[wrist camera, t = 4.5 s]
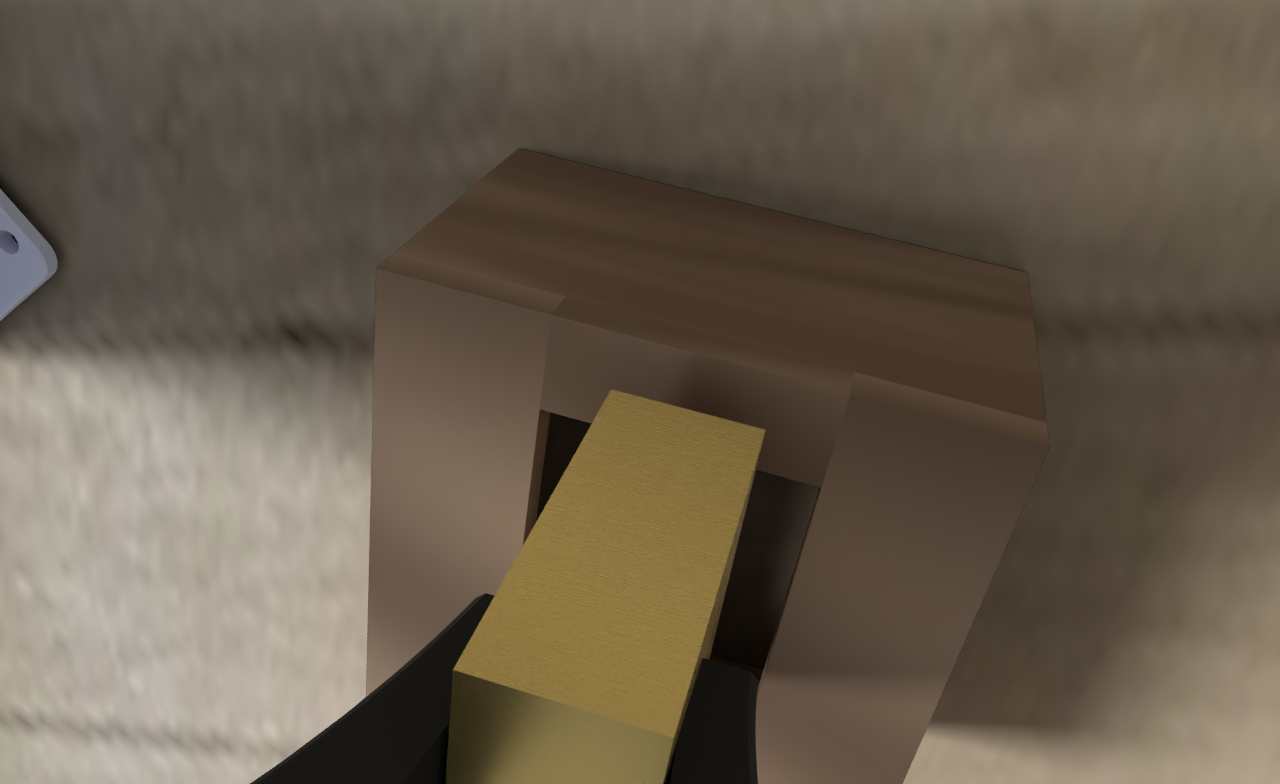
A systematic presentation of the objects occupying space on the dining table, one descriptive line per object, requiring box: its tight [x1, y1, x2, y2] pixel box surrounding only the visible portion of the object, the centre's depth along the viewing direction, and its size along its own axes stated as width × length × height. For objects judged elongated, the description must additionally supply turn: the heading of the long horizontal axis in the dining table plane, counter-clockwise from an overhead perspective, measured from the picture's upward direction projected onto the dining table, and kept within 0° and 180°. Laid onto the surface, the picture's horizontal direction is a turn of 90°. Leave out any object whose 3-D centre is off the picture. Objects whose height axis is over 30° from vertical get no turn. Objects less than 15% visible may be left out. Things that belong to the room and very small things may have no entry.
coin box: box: [366, 149, 1050, 784], centre depth 19 cm, size 11×9×6 cm
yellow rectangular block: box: [446, 389, 766, 784], centre depth 13 cm, size 5×2×5 cm, turn 172°
